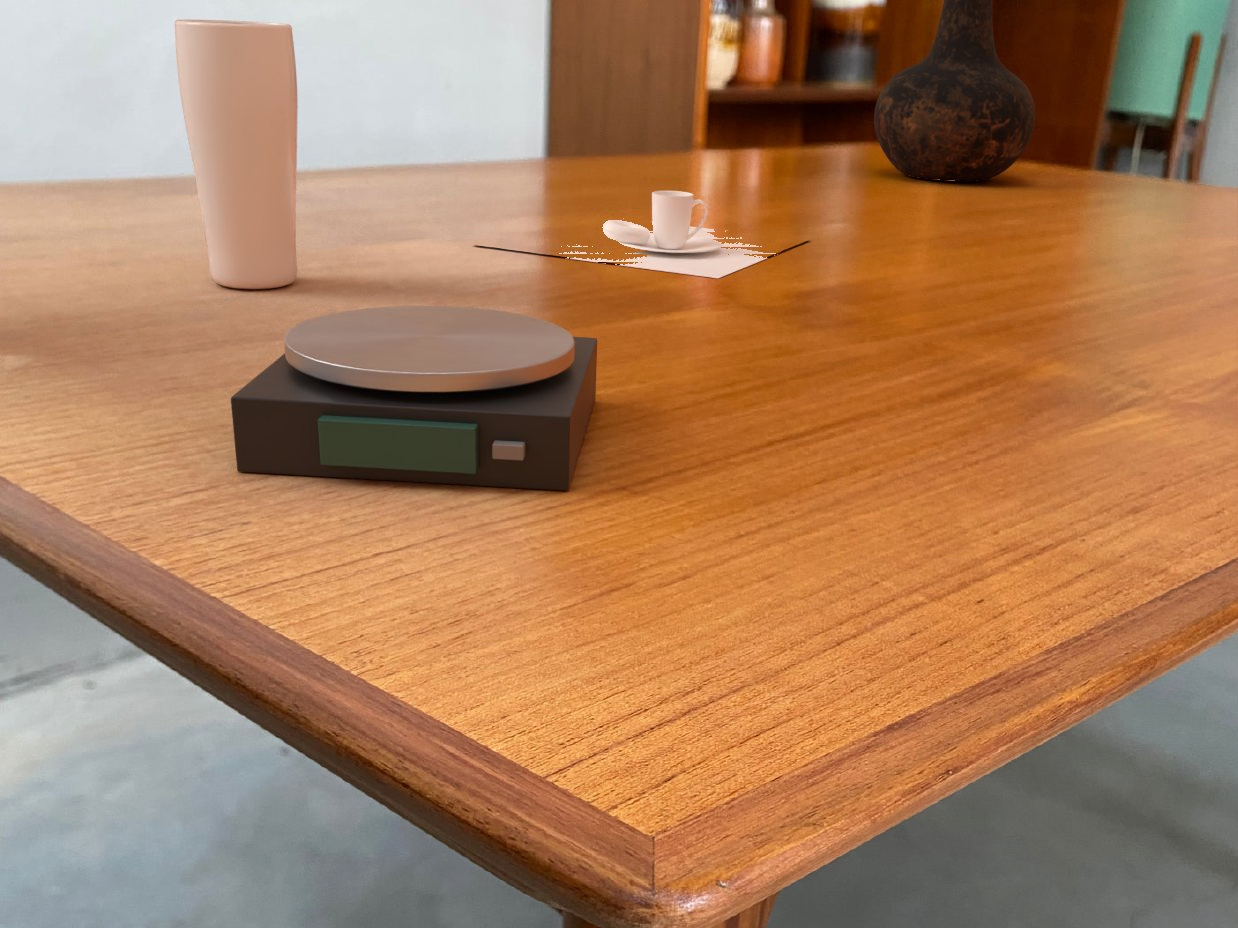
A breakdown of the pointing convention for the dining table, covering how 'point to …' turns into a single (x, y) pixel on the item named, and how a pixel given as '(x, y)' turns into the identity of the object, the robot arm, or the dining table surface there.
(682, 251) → the teacup and saucer
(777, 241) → the dining table surface
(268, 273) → the drinking glass
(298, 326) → the scale pan
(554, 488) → the scale
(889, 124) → the rusty bud vase
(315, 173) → the dining table surface
